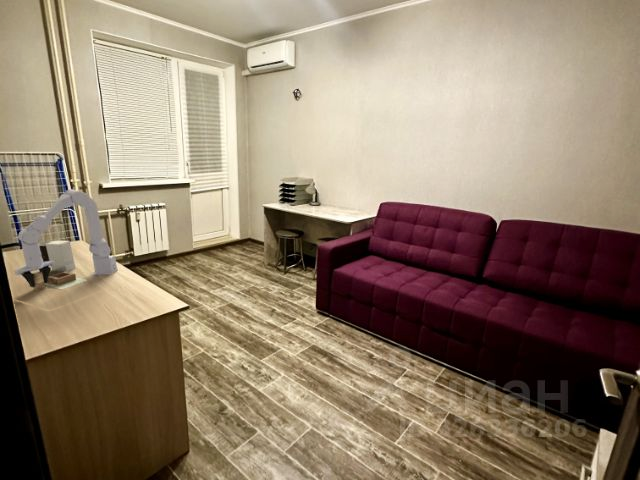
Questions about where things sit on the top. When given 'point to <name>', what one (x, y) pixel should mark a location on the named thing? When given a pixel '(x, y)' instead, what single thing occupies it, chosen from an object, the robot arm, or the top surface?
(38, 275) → the dowel
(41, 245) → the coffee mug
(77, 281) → the board
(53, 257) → the skincare box
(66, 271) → the wall
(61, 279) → the brown wooden square frame
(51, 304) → the top surface
